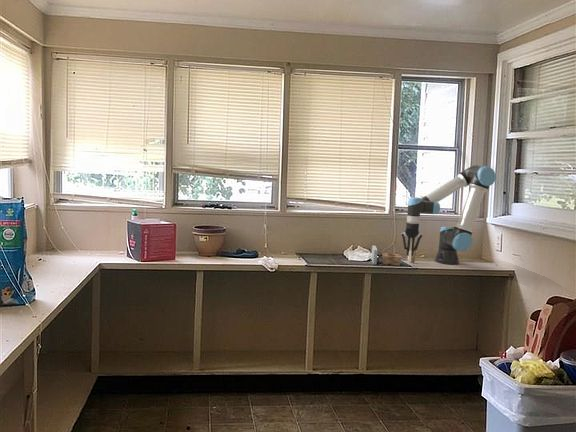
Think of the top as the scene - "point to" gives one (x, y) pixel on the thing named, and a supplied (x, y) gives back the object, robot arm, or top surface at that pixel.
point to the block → (391, 259)
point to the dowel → (413, 255)
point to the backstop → (374, 255)
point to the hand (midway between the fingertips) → (409, 260)
